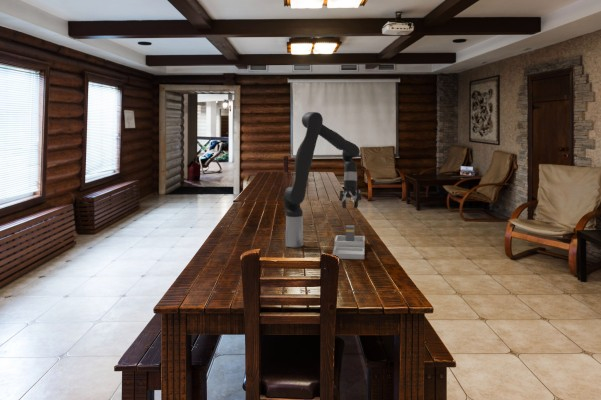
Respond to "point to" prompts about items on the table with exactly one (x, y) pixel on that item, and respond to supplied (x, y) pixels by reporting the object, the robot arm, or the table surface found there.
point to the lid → (349, 252)
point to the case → (358, 241)
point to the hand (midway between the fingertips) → (350, 208)
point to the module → (349, 232)
